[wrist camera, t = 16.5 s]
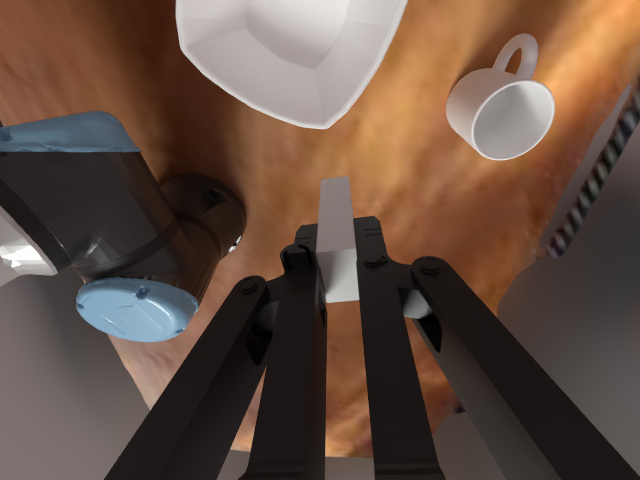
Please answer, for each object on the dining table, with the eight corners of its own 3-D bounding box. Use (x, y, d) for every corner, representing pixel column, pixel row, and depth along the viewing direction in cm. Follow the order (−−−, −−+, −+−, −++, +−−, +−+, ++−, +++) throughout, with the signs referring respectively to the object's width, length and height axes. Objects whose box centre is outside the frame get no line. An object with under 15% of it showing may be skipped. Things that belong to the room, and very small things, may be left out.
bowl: (243, -182, 28) (214, -248, 21) (425, -43, 33) (449, -60, 26) (189, 52, 39) (158, 59, 32) (332, 130, 44) (332, 151, 37)
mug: (471, 25, 37) (512, 27, 28) (537, 38, 37) (597, 43, 29) (434, 128, 44) (459, 154, 35) (491, 137, 44) (528, 165, 36)
